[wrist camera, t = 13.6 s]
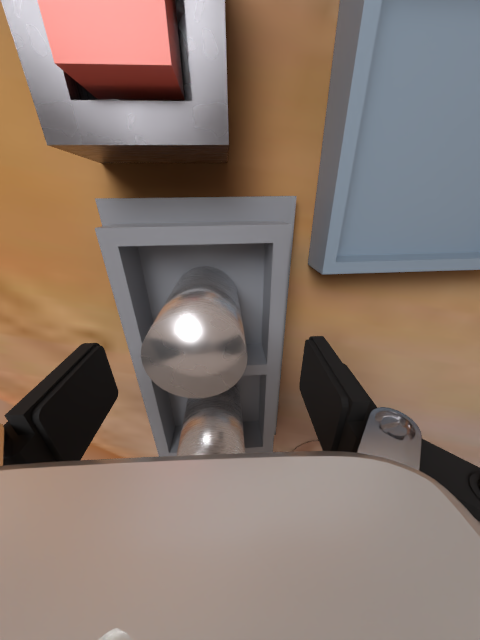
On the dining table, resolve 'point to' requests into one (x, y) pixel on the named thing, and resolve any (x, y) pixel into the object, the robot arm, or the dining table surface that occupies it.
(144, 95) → the button
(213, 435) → the seated billet
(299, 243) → the dining table surface
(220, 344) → the billet
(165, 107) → the box
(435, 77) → the tray
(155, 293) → the grey divided tray
